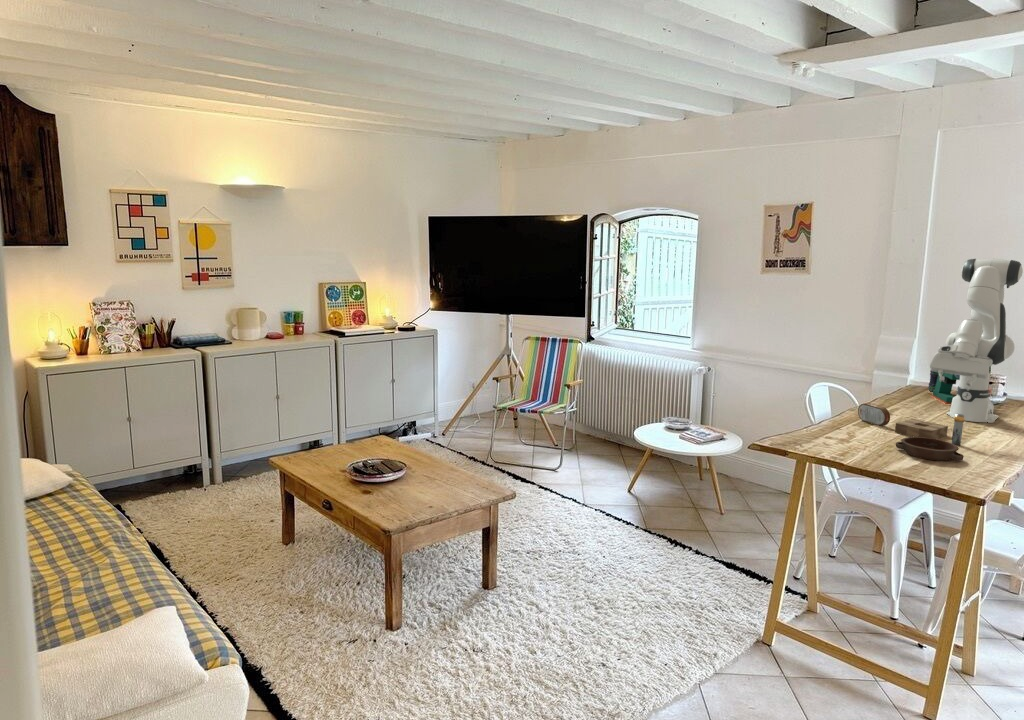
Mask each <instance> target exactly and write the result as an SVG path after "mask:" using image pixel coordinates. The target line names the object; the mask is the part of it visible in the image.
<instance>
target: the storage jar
mask: <svg viewBox="0 0 1024 720" xmlns="http://www.w3.org/2000/svg"><path fill="white" fill-rule="evenodd" d="M938 374H939V373H937V372H934V371H932V370H931V369H930V373H929V382H928V386H927V388H928V390H929V391H930V392H933V390H935V386H936V382H937V378H938ZM928 390H927V391H928Z"/></svg>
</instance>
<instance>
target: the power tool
mask: <svg viewBox="0 0 1024 720" xmlns="http://www.w3.org/2000/svg"><path fill="white" fill-rule="evenodd" d="M937 373H938V372H937ZM942 376H944V378H945V379H944V382H941V381H939V378H940V376H939V374H938V378H937V382H936V386H935V390H933V395H932V394H930V397H931V396H933V397H935V398H936V399H938V400H940V401H942V402H944V403H945V404H952V400H953V397H955V396H956V395H954V394H952V393H951V392H952V389H953V385H956V384H957V380H958V381H960V375H955V374H948V373H943V374H942Z"/></svg>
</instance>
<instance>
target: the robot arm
mask: <svg viewBox="0 0 1024 720" xmlns="http://www.w3.org/2000/svg"><path fill="white" fill-rule="evenodd" d="M1023 273H1024V271H1023V266H1022V264H1021V262H1020V261H1018V260H1015V259H1013V260H1012V259H1011V260H1009V259H1003V258H1002V259H1001V258H978V259H977V258H971V259H970V258H969V259H967V260H965V261H964V264H962V267H961V270H960V275H961V278H962V280H963V281H964V282H967V283H969V285H968V288H967V293H966V303H967V304H968V306H969V308H970V309H971V311H970V316H969V317H970V319H964V320H962V321H961V322H960V324H959V327H958V329H957V331H956V332H955V331H954V332H952V333H950V334H949V335H948V336H947V337H946V339H945V345H943V346H939V347H938V349H937V352H936V353H935V354H934V355H933V357H931V358H932V359H931V361H930V363H929V369H930V370H932V371H934V372H938V373H939V376H940V378H939V381H941V382H944V379H945V378H944V376H942V374H943V373H948V374H955V375H960V380H958V381H959V382H958V386H957V389H956V395H954V396H955V397H953V400H952V404H951V405H950V409H949V411H946V415H947V414H948V415H947V416H950V417H951V418H952V419H954V418H955V414H962V415H964V422H965V421H966V422H972V423H973V422H975V423H987V422H988V423H989V424H993V423H995V420H996V419H997V418H998V417H1000V416H999V415H997V414H994V404H993V402H992V400H991V399H990V394H992V389H991V388H989V384H990V379H991V372H990V368H991V367H992V366H997V365H999V364H1001V363H1003V362H1004V361H1006V360H1007V359H1009V358H1010V357H1011V356H1012V355H1013V353H1014V352H1015V343H1014V341H1013V340H1012V338H1011V337H1010V336H1008V334H1006V333H1007V332H1006V329H1007V324H1006V322H1007V321H1006V320H1007V319H1006V318H1007V317H1006V316H1007V315H1006V314H1007V313H1006V312H1007V311H1006V307H1005V304H1004V298H1005V285H1006V288H1007V289H1009V288H1010V287H1011V286H1014V285H1016V284H1017V283H1019V280H1021V278H1022V277H1023ZM998 419H999V418H998ZM998 419H997V420H998ZM997 420H996V421H997Z"/></svg>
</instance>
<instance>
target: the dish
mask: <svg viewBox="0 0 1024 720" xmlns="http://www.w3.org/2000/svg"><path fill="white" fill-rule="evenodd" d="M895 447H896V448H897V449H899V450H903V451H905V452H906V453H907V454H909V455H910V456H912V457H913V456H914V457H915V456H916V458H919V459H923V460H929V461H936V460H937V461H938V462H941V461H942V462H944V461H947V462H948V461H949V460H955V461H963V459H964V457H965V456H964V455H963V454H961V453H959V452H958V451H959V450H960V448H959V446H956V445H954V444H952V442H949V441H946V440H941V439H939V438H938V439H933V438H924V437H912V436H909V437H905V438H902V439H900V441H897V442H895Z"/></svg>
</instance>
